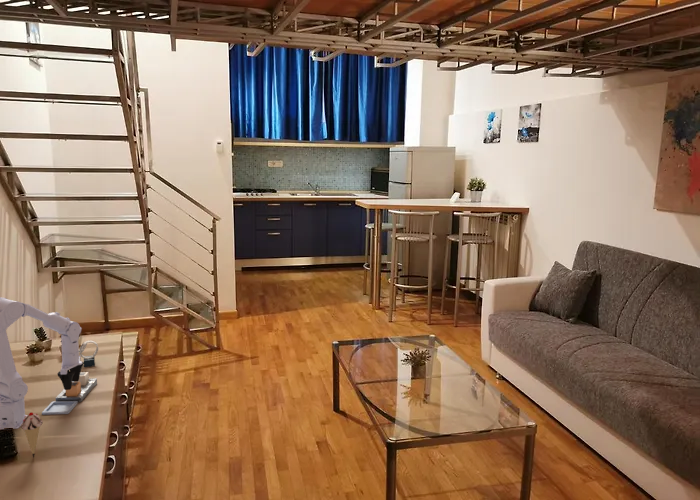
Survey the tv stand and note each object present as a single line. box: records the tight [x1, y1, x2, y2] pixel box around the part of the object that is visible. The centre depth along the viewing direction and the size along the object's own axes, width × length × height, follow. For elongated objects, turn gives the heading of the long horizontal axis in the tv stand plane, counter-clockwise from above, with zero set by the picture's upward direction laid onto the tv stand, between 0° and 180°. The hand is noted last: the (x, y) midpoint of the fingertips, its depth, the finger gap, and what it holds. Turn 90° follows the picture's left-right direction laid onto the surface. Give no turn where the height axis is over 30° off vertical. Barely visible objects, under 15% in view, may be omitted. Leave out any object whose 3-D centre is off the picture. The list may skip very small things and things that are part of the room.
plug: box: [66, 382, 81, 396], centre depth 202 cm, size 4×4×6 cm
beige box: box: [78, 371, 90, 385], centre depth 212 cm, size 4×4×6 cm
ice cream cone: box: [20, 412, 44, 458], centre depth 161 cm, size 6×6×15 cm
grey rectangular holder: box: [55, 377, 98, 403], centre depth 207 cm, size 18×9×2 cm, turn 8°
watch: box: [79, 339, 99, 368], centre depth 236 cm, size 6×8×11 cm
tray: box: [41, 400, 79, 416], centre depth 193 cm, size 9×9×1 cm
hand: (71, 385), depth 201 cm, fingers open, 7 cm apart
